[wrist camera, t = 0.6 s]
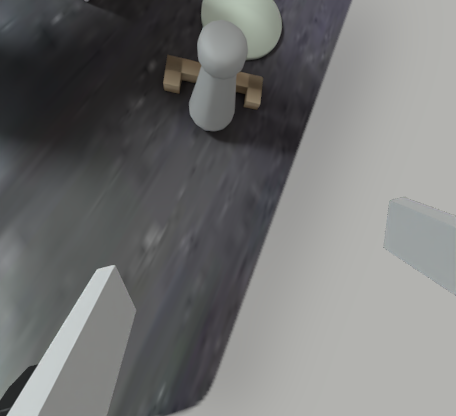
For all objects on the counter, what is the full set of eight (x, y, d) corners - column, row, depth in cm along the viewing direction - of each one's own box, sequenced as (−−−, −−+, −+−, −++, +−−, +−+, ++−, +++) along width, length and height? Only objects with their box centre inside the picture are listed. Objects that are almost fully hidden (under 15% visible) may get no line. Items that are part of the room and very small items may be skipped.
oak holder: (257, 109, 32) (260, 104, 30) (164, 90, 30) (163, 83, 28) (259, 84, 32) (263, 77, 31) (168, 63, 30) (167, 54, 29)
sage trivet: (183, 5, 31) (183, 1, 31) (247, -29, 33) (248, -33, 33) (235, 74, 32) (236, 71, 31) (295, 36, 34) (297, 32, 33)
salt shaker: (238, 114, 31) (272, 35, 18) (216, 145, 30) (236, 86, 17) (203, 89, 31) (213, -10, 18) (180, 121, 30) (173, 40, 17)
